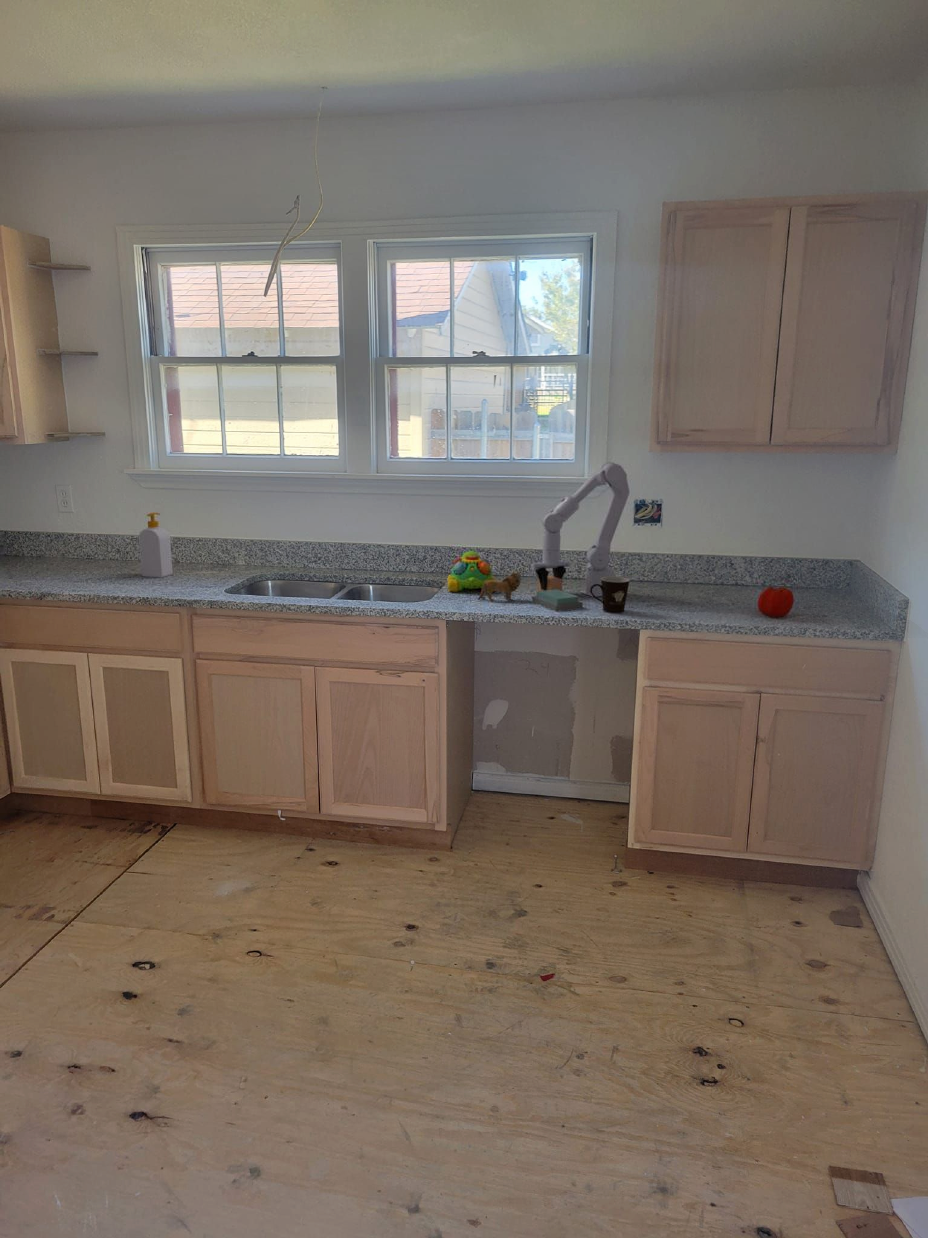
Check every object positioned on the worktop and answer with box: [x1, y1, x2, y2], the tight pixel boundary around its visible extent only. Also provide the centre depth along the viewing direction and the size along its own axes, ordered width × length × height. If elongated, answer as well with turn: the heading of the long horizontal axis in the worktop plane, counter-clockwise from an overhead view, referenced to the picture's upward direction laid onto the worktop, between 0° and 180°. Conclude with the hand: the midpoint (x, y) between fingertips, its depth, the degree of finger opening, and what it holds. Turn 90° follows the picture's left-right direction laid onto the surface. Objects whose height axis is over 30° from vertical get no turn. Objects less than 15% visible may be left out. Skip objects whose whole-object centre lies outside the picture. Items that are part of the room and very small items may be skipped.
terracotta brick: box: [537, 574, 563, 591], centre depth 281 cm, size 4×8×6 cm, turn 27°
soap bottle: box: [138, 512, 174, 579], centre depth 302 cm, size 9×7×23 cm
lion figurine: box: [477, 571, 522, 602], centre depth 271 cm, size 15×5×9 cm, turn 106°
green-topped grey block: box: [531, 589, 584, 612], centre depth 265 cm, size 10×14×4 cm
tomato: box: [757, 586, 795, 618], centre depth 253 cm, size 11×11×9 cm
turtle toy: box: [446, 551, 496, 593], centre depth 289 cm, size 17×23×12 cm
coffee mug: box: [590, 576, 630, 614], centre depth 258 cm, size 12×9×10 cm
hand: (549, 589), depth 281 cm, fingers closed on terracotta brick, 4 cm apart
